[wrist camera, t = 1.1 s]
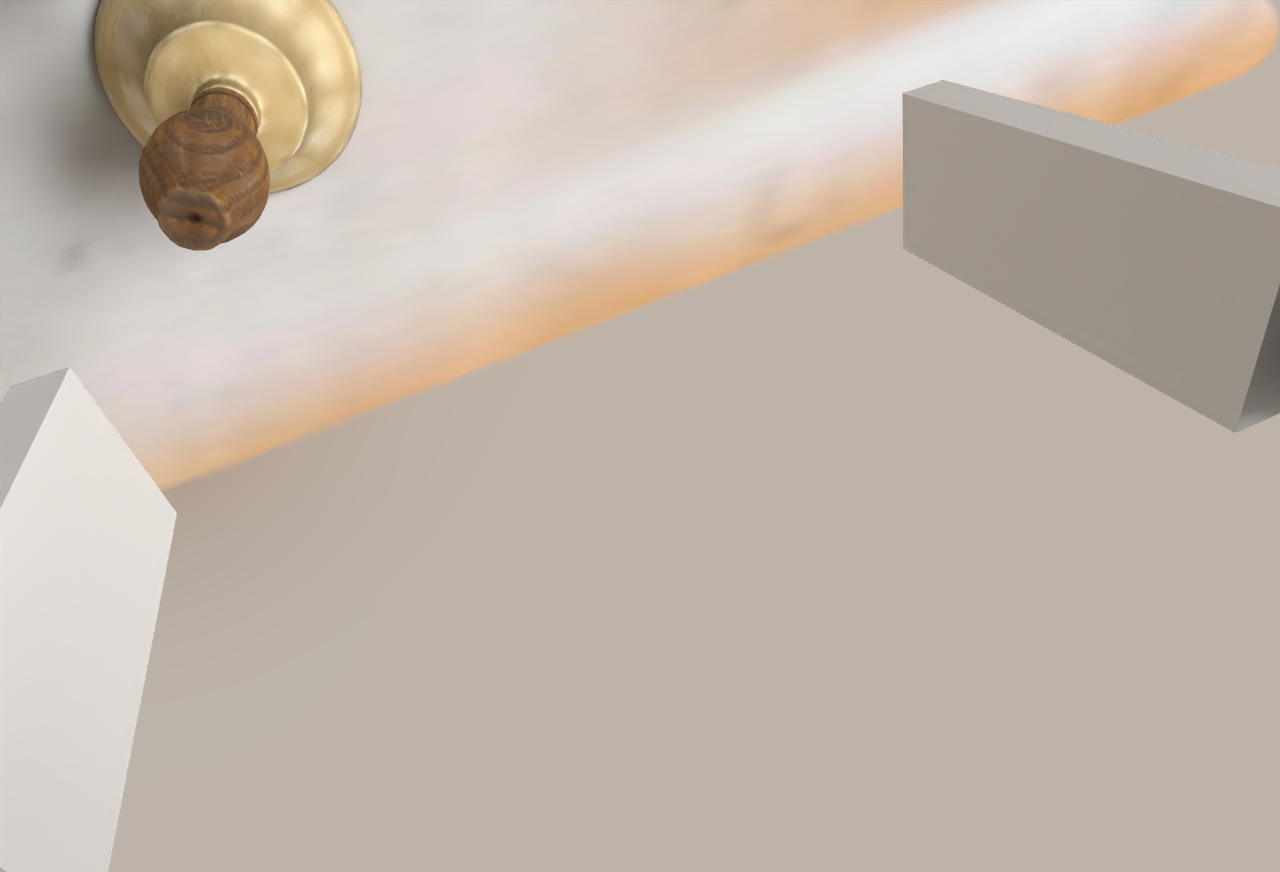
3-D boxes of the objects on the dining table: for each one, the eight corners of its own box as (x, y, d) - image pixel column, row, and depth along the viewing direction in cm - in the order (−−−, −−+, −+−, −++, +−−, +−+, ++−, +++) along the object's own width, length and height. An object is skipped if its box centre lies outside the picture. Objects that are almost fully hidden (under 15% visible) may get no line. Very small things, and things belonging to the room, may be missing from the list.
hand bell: (400, 143, 31) (472, 301, 19) (194, 227, 31) (124, 452, 18) (285, -104, 26) (277, -113, 14) (34, -13, 26) (-220, 68, 13)
